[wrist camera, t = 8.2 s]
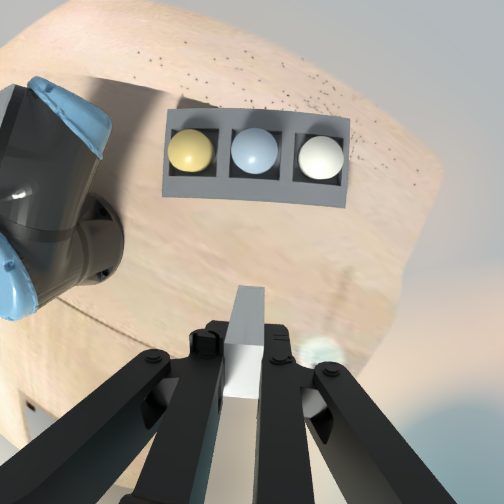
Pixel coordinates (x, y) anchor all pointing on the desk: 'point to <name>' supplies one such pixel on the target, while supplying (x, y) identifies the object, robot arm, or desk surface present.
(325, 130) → the grey compartment tray
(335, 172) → the ivory button
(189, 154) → the ochre button
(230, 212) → the desk surface
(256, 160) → the light blue rounded dome
